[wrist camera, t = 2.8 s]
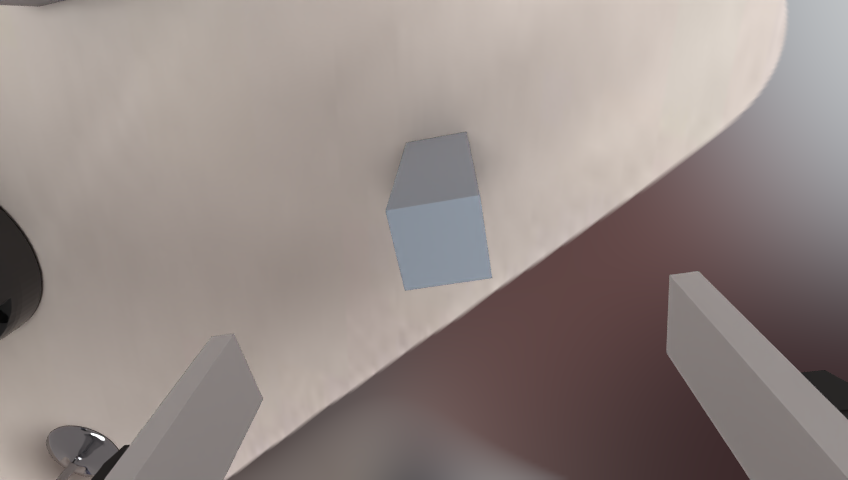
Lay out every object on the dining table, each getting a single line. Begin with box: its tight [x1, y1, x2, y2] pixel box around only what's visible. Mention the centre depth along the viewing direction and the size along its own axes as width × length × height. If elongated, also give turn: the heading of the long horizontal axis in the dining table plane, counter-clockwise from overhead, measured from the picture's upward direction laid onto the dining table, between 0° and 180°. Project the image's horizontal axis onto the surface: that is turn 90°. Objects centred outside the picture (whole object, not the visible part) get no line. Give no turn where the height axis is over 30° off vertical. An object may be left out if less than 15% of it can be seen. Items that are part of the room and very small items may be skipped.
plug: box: [386, 132, 492, 291], centre depth 25 cm, size 4×4×12 cm
